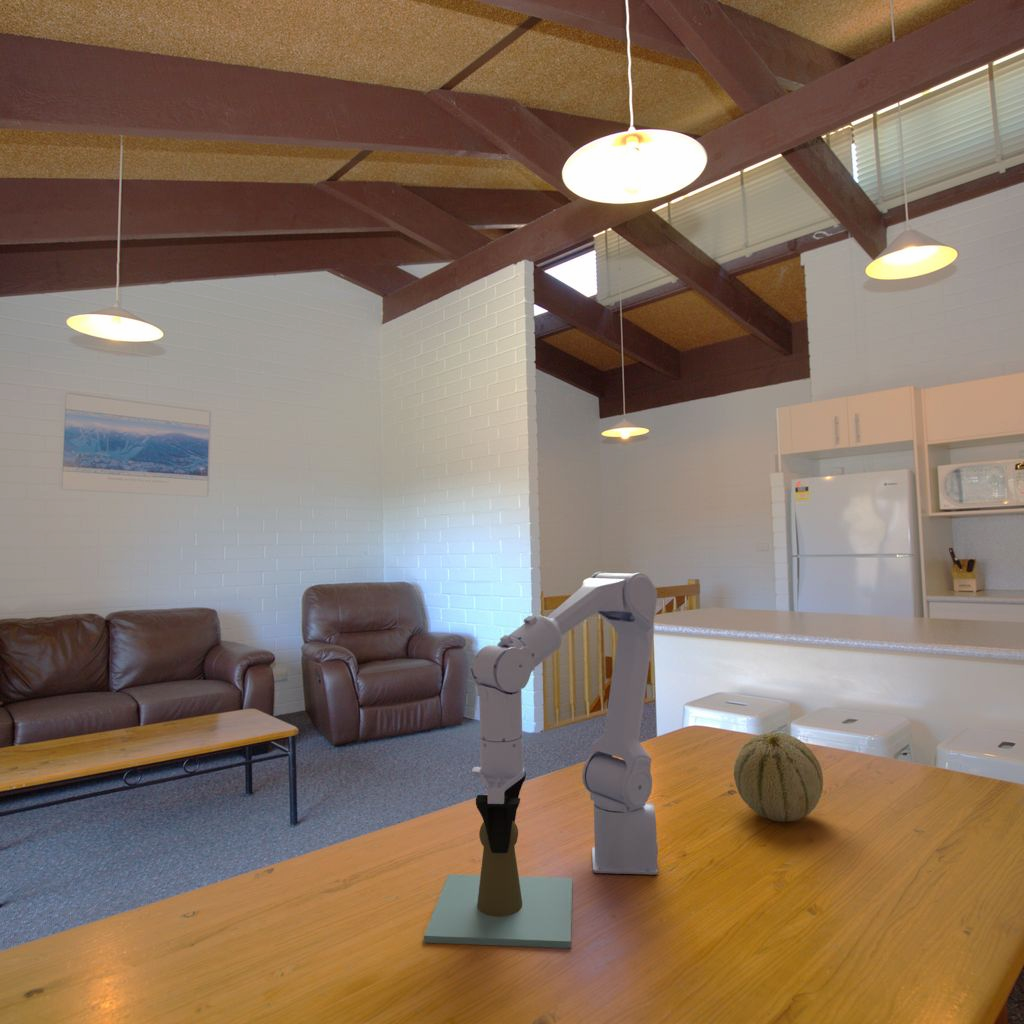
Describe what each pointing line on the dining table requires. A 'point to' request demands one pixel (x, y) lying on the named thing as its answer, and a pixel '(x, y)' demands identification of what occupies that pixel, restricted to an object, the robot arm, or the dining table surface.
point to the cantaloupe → (778, 777)
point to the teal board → (530, 926)
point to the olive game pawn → (499, 878)
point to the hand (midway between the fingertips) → (503, 839)
